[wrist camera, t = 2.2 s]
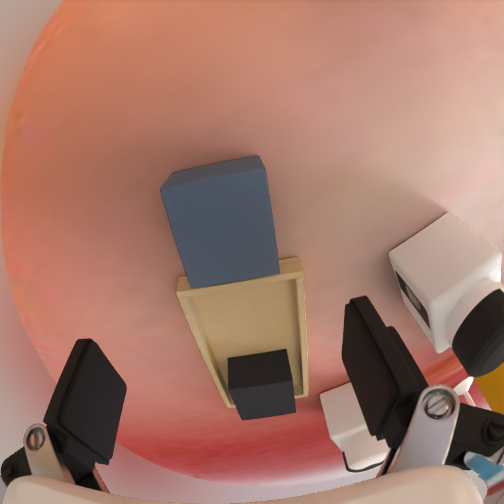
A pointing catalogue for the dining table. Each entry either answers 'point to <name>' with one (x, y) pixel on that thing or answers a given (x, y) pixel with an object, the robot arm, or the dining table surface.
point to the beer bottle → (493, 388)
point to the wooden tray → (250, 322)
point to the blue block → (222, 221)
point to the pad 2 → (261, 384)
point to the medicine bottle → (351, 430)
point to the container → (455, 291)
